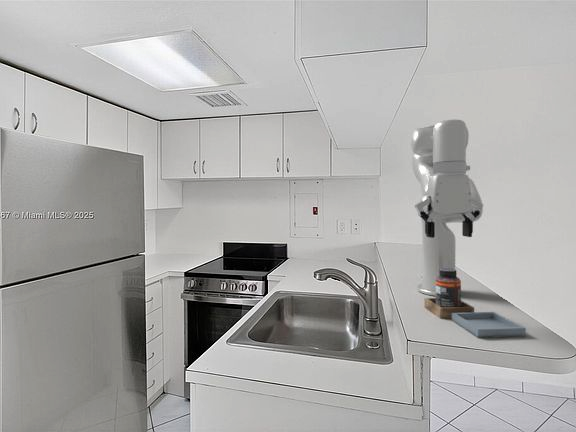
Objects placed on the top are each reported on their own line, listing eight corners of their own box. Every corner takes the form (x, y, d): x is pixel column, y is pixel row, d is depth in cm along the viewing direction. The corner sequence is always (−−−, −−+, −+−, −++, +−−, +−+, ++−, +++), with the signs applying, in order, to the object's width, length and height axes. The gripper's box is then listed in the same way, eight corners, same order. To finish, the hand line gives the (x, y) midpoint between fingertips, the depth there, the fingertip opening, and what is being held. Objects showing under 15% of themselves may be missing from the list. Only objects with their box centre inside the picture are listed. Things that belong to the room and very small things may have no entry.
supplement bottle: (458, 309, 88) (458, 267, 88) (463, 317, 82) (463, 272, 82) (433, 307, 90) (434, 266, 89) (437, 315, 84) (437, 271, 84)
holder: (424, 307, 90) (424, 298, 90) (455, 306, 91) (455, 297, 90) (440, 318, 82) (440, 308, 82) (474, 317, 82) (474, 307, 82)
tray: (451, 320, 80) (451, 313, 80) (493, 319, 81) (493, 311, 81) (477, 337, 70) (478, 329, 70) (525, 336, 70) (525, 328, 70)
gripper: (473, 171, 89) (472, 234, 89) (409, 171, 88) (409, 236, 89) (491, 168, 81) (490, 237, 82) (422, 169, 80) (422, 239, 81)
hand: (448, 236), depth 85 cm, fingers open, 9 cm apart
